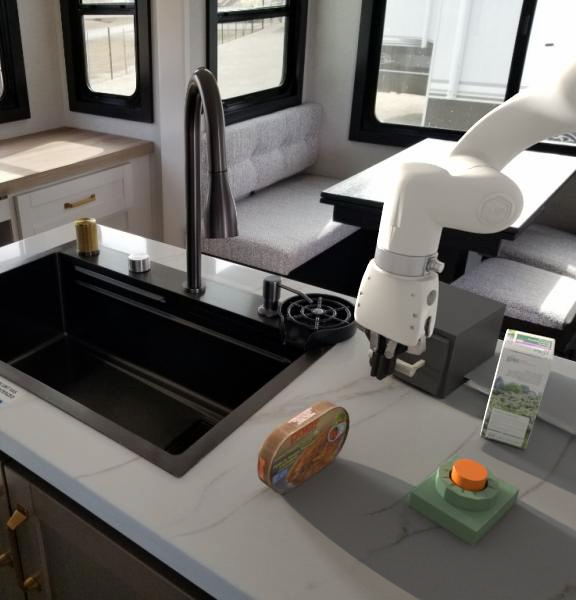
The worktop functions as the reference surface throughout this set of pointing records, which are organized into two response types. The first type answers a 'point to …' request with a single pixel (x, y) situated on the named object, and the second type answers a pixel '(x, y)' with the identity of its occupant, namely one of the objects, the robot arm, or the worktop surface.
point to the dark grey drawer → (424, 364)
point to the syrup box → (517, 388)
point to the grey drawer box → (465, 332)
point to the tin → (302, 446)
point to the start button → (469, 475)
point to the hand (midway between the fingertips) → (380, 374)
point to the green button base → (462, 503)
